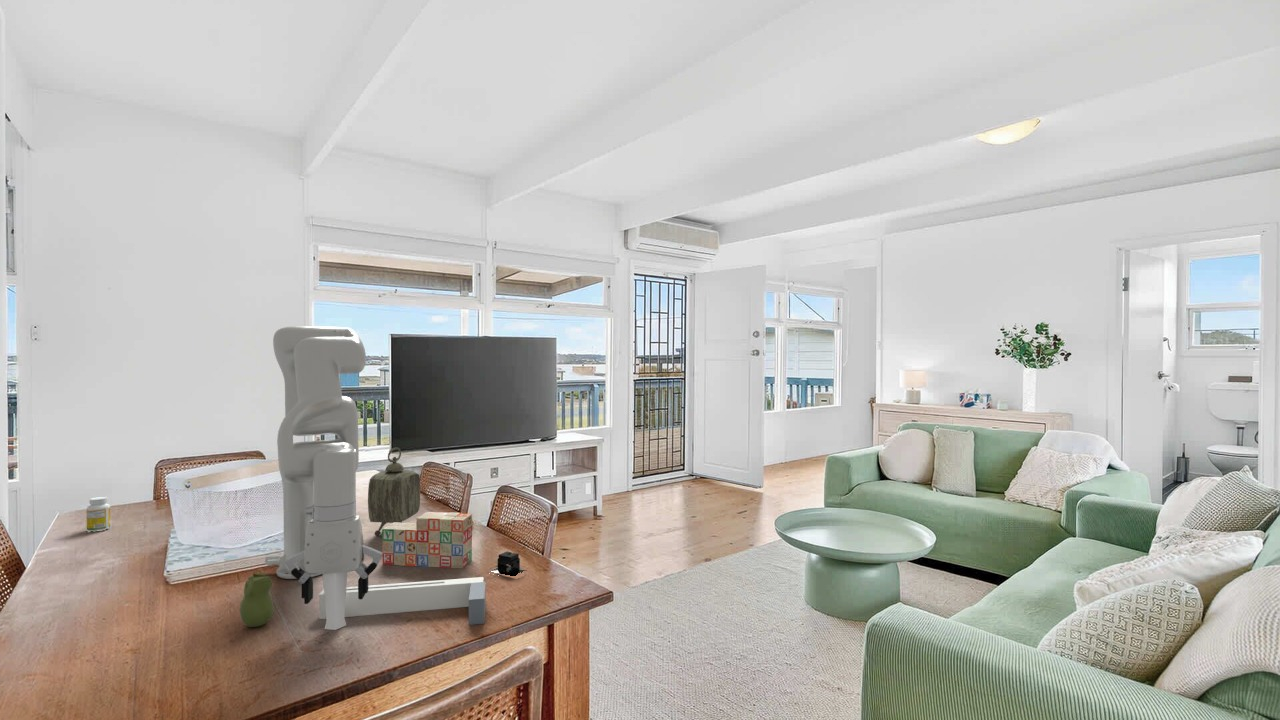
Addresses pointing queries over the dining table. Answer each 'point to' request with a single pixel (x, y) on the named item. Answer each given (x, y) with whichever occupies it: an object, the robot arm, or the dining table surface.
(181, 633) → the dining table surface
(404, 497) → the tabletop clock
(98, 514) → the supplement bottle
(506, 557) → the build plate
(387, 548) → the stack of blocks
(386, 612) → the guide fence
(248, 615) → the pear
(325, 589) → the white faceted vase
